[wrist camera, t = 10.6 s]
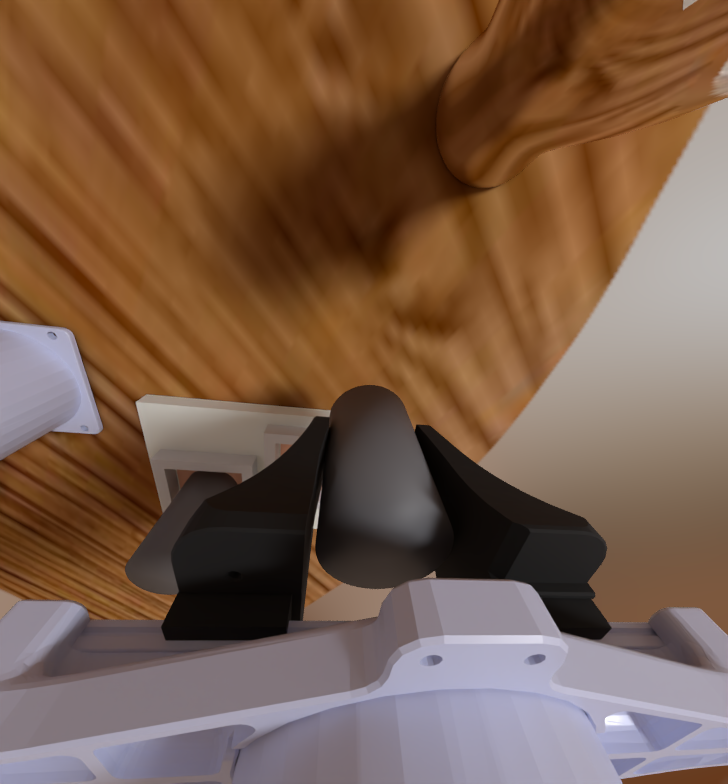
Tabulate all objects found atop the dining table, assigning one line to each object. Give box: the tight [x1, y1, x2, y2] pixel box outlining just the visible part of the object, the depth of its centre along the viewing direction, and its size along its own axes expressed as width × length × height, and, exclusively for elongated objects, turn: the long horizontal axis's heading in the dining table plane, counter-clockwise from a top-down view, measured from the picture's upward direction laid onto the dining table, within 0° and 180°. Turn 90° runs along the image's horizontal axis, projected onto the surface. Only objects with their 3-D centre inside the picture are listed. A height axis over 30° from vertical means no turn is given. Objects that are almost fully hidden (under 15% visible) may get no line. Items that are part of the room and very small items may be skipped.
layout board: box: [136, 394, 331, 529], centre depth 23 cm, size 17×12×2 cm
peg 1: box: [125, 471, 237, 595], centre depth 20 cm, size 4×4×7 cm
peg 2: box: [315, 385, 454, 589], centre depth 11 cm, size 4×4×7 cm
